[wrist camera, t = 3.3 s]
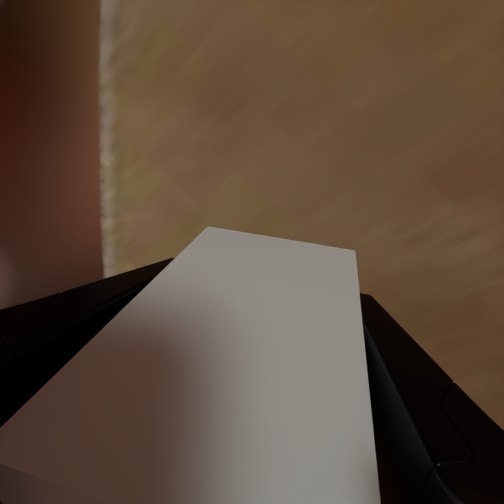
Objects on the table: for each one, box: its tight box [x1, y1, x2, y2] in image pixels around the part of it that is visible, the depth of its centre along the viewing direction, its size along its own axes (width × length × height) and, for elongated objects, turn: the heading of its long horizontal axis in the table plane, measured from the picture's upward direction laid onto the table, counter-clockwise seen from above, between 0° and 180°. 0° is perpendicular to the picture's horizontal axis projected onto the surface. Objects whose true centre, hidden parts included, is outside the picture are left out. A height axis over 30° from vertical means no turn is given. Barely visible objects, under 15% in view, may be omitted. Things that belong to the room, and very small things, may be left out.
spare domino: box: [0, 227, 381, 504], centre depth 7 cm, size 2×5×8 cm, turn 85°
